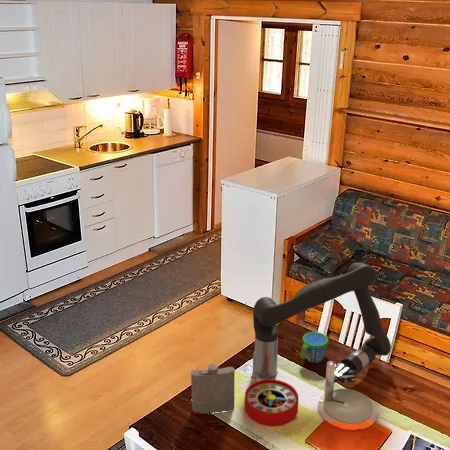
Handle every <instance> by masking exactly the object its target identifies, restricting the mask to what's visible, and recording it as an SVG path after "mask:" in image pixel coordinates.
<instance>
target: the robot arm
mask: <svg viewBox="0 0 450 450" xmlns="http://www.w3.org/2000/svg"><path fill="white" fill-rule="evenodd" d="M377 276H378V274H377V271H376V269H375V268H374V267H372V265H370V264H367V263H362V262H353V263H352V264H350V266H349V267H348V269H347V273H345V274H343V275H339V276H335V277H326V278H321V279H318V280H315V281H313V282H311V283H307V284H305V285H304V286H302V287H301V288H300V289H299V290H298V291H297V293H296V294H295V295H294V296H293V297H291V298H290V299H289V300H286V301H283V302H282V303H278V304H277V303H276V302H275V300H273V298H271V297H267V296H263V297H261V298H259V299H258V300H257V301H256V302H255V304H254V306H253V311H252V312H253V313H252V315H253V319H252V321H253V331H254V352H253V354H252V374H254V375H255V376H257V377H258V378H260V379H264V380H265V379H272V378H274V377H275V376H276V375H277V373H278V372H277V371H278V352H279V351H278V346H279V328H278V327H277V325H280V323H282V322H285V321H287V320H288V319H290V318H293V317H294V316H296V315H298V314H301V313H303V312H305V311H307V310H310V309H312V308H315V307H318V306H320V305H323V304H325V303H327V302H330V301H332V300H334V299H337V298H340V297H342V296H343V295H346V294H348V293H351V292H354V295H355V297H356V300H357V305H358V306H359V307H358V308H359V310H360V314H361V319H362V322H363V326H364V327H363V328H364V330H365V333H366V334H367V335H369V336H372V337H368V338H366V340H365V341H364V342H363V343H362V345H361V347H360V348H358V349H357V350H354V351H353V352H351V353H350V354H348V355H347V356H346V357H344V358H343V359H342V360H341V361H340V362H338V363H336V366H335V378H334V384H335V383H337V382H338V383H339V382H340V383H342V384H346V383H347V384H348V383H356V382H357V375H358V374H359V373H360V372H362V371H363V370H364V369H365V368H367V366H369V365H370V364H372V362H374V361H375V360H376V357H377V356H382V357H383V356H388V355H389V354H390V353H391V349H392V345H391V342H390V338H389V337H388V335H387V334H386V331H385V330H384V328H383V325H382V321H381V316H380V313H379V310H378V308H377V305H376V303H375V301H374V299H373V297H372V294H371V292H370V290H369V287H370V286H372V285H373V284H374V283H375V282H376V279H377Z"/></svg>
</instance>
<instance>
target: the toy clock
mask: <svg viewBox="0 0 450 450" xmlns="http://www.w3.org/2000/svg"><path fill="white" fill-rule="evenodd" d="M244 410H245V414H246V416H247V417H248V418H249V419H250V420H252V422H254V423H256V424H258V425H262V426H265V427H280V426H284V425H287V424H289V423H291V422H292V421H294V420H295V418H297V415H298V412H299V394H298V391H297V390H296V388H295V387H293V385H291V384H289V383H287V382H285V381H283V380H280V379H275V378H274V379H272V378H268V379H265V378H264V379H261V380H258V381H255V382H253V383H251V384H250V385H248V386H247V388H246V390H245V392H244Z"/></svg>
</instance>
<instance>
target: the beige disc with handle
mask: <svg viewBox="0 0 450 450" xmlns="http://www.w3.org/2000/svg"><path fill="white" fill-rule="evenodd" d="M336 364H337V363H336V362H335V361H333V360H329V361H327V362H326V372H325V384H324V393H323V394H324V402H323V407H324V410H325V412H326V413H327V414H328V415H329V416H330V417H331V418H333V419H335V420H337V421H339V422H342V423H347V424H357V423H361V422H365V421H366V420H368V419H369V418H370V417H371V415H372V410H373V406H372V403H371V401H370V400H369V399H368V398H367V397H368V396H367V395H366V394H364V393H362V392H360V391H357V390H354V389H350V388H337V390H336V389H335V387H334V386H335V383H334V378H335V370H336V368H335V366H336ZM363 394H364V395H363ZM365 395H366V396H367V397H366V396H365Z"/></svg>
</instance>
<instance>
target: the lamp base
mask: <svg viewBox="0 0 450 450" xmlns="http://www.w3.org/2000/svg"><path fill="white" fill-rule="evenodd" d="M337 389H338V388H337ZM337 389H335V390H337ZM324 394H325V393H323V394H322V395H321V396H320V397H319V399H318V402H317V411H318V414H319V416H320V417H321V418H322V419H323V421H325V420H327V421H329V422H339V421H337V420H335V419H333V418H331V417H330V416H329V415H328V414H327V413H326V412H325V410H324V407H323V402H324ZM362 394H363V395H365V396H366V397H367V398H368V399H369V400H370V401H371V403H372V406H373V410H372V415H371V417H370V418H369V419H368V420H370V421H372V422H375V421H377V420H378V415H379V411H378V407H377V405H376V404H375V402H374V400H372V399H371V398H370V397H368V396H367V395H366V394H364V393H362ZM375 423H376V422H375Z"/></svg>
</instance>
